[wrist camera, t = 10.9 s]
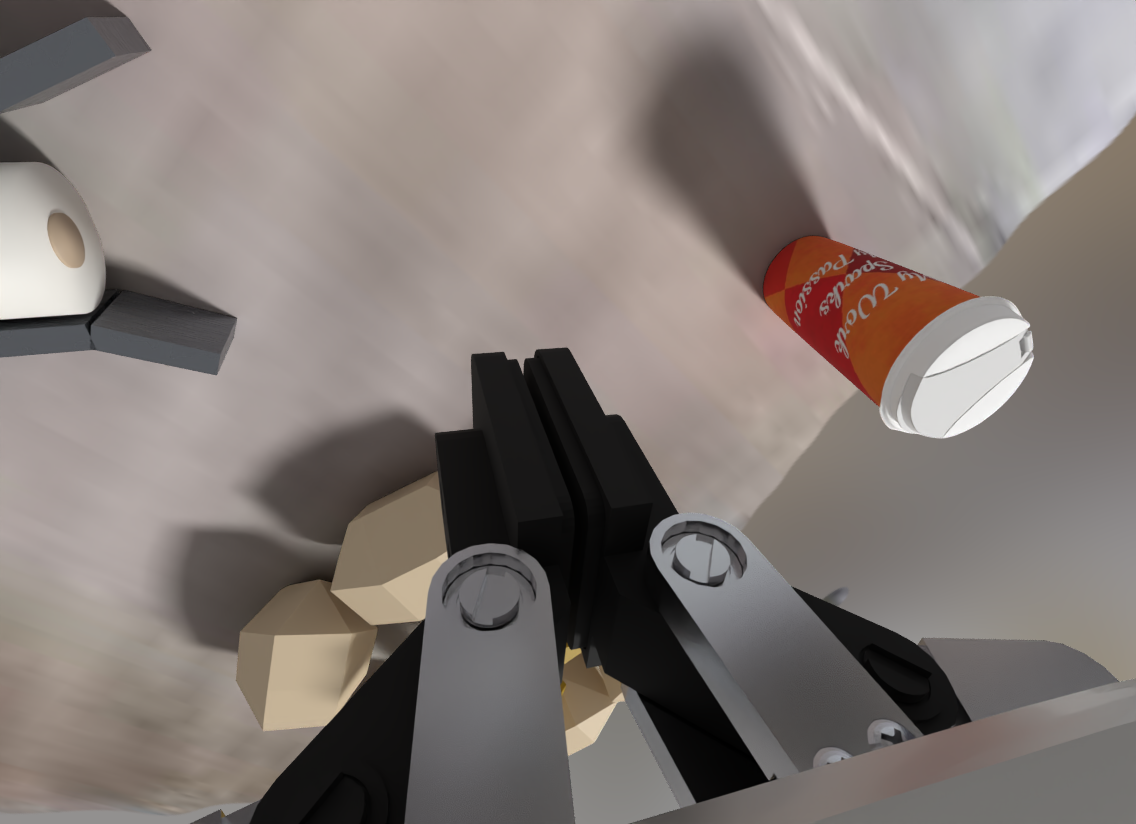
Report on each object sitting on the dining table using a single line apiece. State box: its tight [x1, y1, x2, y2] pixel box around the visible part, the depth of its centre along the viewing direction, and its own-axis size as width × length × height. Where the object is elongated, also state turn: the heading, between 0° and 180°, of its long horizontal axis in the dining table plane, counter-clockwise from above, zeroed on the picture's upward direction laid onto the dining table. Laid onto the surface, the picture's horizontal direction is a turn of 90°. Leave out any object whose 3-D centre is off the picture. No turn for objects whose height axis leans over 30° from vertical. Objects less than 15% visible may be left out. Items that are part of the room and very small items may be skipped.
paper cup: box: [763, 236, 1034, 438], centre depth 33 cm, size 8×8×14 cm
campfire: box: [236, 471, 625, 756], centre depth 42 cm, size 35×34×17 cm
